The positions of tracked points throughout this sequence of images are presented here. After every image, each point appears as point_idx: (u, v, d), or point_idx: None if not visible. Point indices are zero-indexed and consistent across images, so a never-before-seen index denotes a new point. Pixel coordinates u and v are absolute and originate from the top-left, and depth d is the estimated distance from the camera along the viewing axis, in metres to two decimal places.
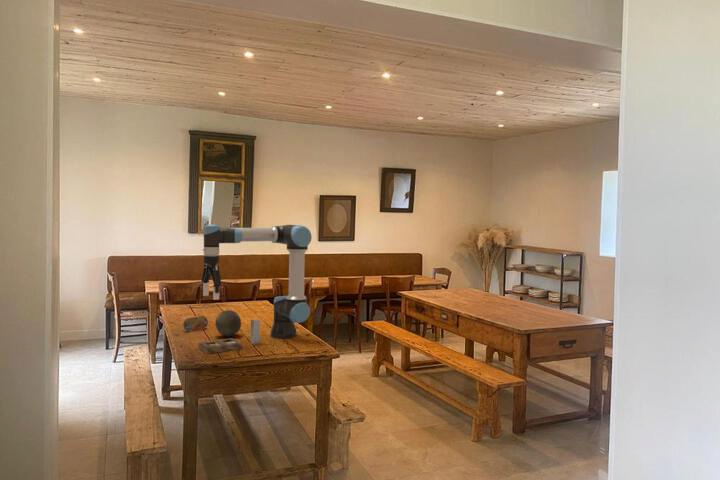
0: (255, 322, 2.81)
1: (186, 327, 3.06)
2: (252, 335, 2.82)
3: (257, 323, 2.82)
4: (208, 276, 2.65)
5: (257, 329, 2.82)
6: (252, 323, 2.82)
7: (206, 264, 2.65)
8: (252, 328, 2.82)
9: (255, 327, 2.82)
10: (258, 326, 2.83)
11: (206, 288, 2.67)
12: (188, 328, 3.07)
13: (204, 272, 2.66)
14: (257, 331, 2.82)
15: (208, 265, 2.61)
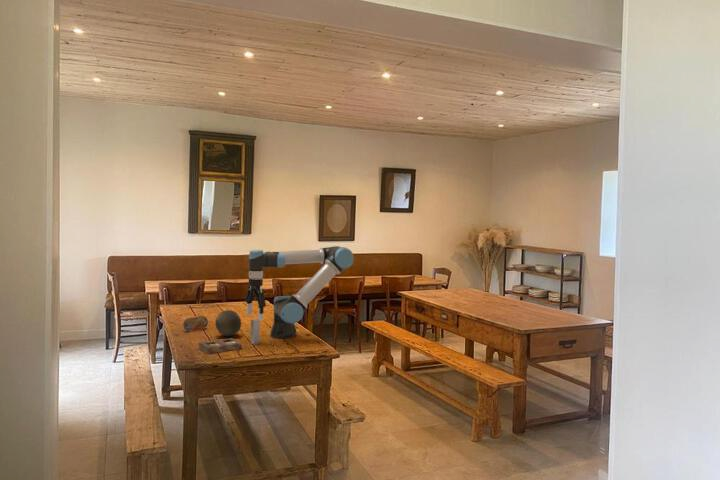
0: (255, 322, 2.81)
1: (186, 327, 3.06)
2: (252, 335, 2.82)
3: (257, 323, 2.82)
4: (252, 297, 2.86)
5: (257, 329, 2.82)
6: (252, 323, 2.82)
7: (250, 286, 2.86)
8: (252, 328, 2.82)
9: (255, 327, 2.82)
10: (258, 326, 2.83)
11: (250, 308, 2.88)
12: (188, 328, 3.07)
13: (248, 293, 2.87)
14: (257, 331, 2.82)
15: (253, 287, 2.82)
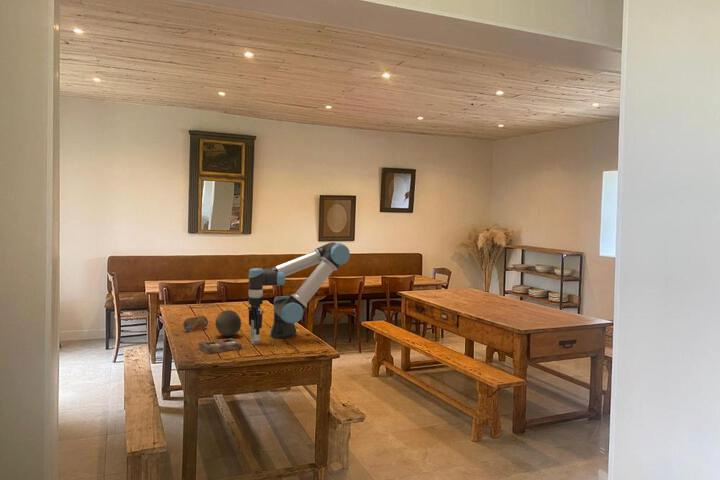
0: None
1: (186, 327, 3.06)
2: (252, 335, 2.82)
3: None
4: (254, 318, 2.85)
5: None
6: (252, 323, 2.82)
7: None
8: (252, 328, 2.82)
9: None
10: None
11: None
12: (188, 328, 3.07)
13: (250, 315, 2.86)
14: None
15: None
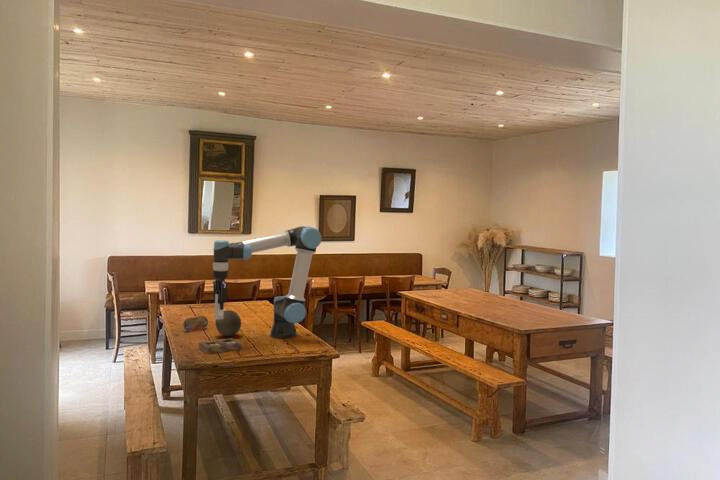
0: None
1: (186, 327, 3.06)
2: (216, 310, 2.71)
3: None
4: (219, 292, 2.73)
5: None
6: (216, 297, 2.70)
7: (215, 281, 2.75)
8: (216, 303, 2.70)
9: None
10: None
11: None
12: (188, 328, 3.07)
13: (214, 289, 2.74)
14: None
15: (217, 277, 2.72)
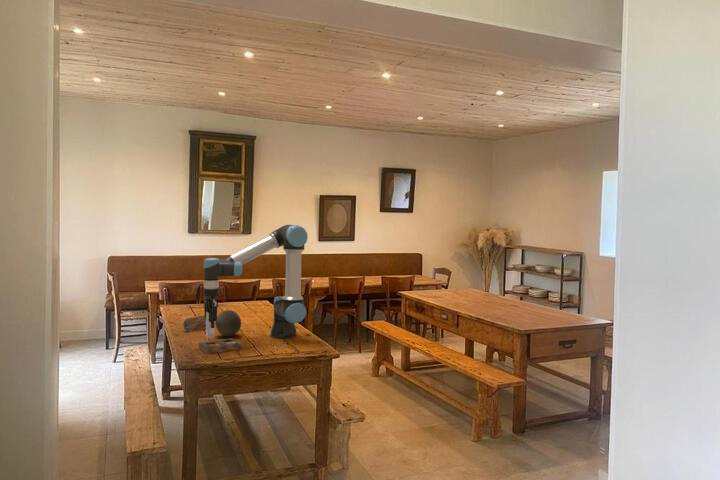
0: None
1: (186, 327, 3.06)
2: (207, 328, 2.68)
3: None
4: (209, 310, 2.71)
5: None
6: (207, 315, 2.68)
7: (206, 298, 2.73)
8: (207, 321, 2.68)
9: None
10: None
11: None
12: (188, 328, 3.07)
13: (205, 307, 2.72)
14: None
15: None
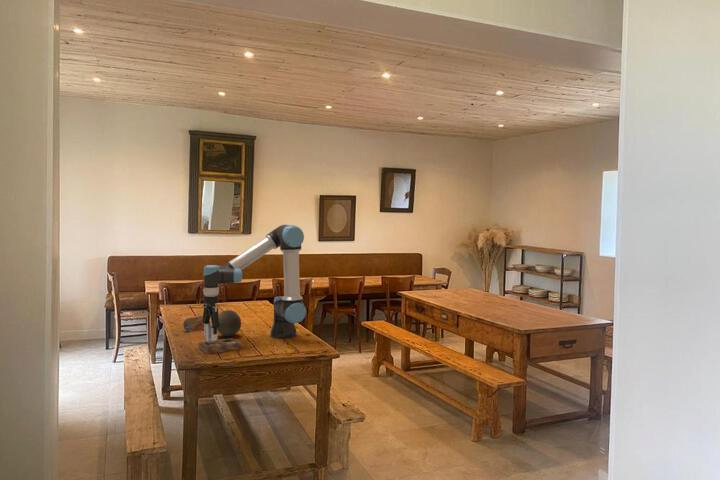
0: (210, 326, 2.68)
1: (186, 327, 3.06)
2: (207, 340, 2.69)
3: None
4: (208, 316, 2.72)
5: None
6: (207, 327, 2.69)
7: (206, 304, 2.73)
8: (207, 333, 2.69)
9: (210, 332, 2.68)
10: None
11: None
12: (188, 328, 3.07)
13: (204, 312, 2.73)
14: None
15: (208, 304, 2.69)
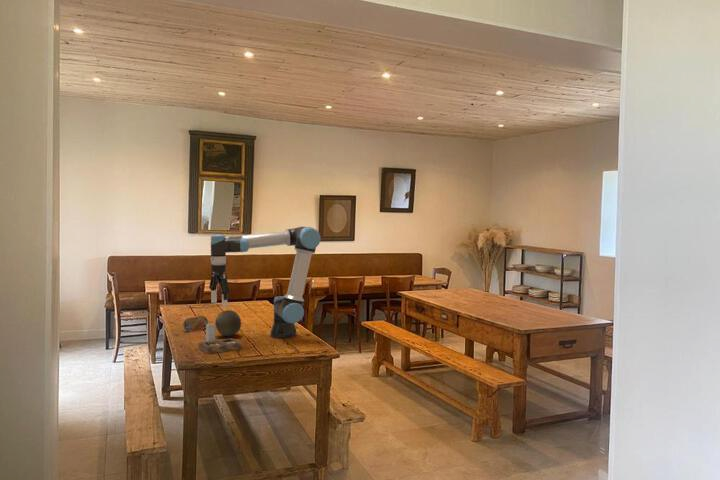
0: (210, 327, 2.68)
1: (186, 327, 3.06)
2: (207, 340, 2.69)
3: (212, 328, 2.69)
4: (216, 284, 2.77)
5: (212, 334, 2.69)
6: (207, 328, 2.69)
7: (213, 272, 2.77)
8: (207, 333, 2.69)
9: (210, 332, 2.68)
10: (213, 331, 2.69)
11: (214, 295, 2.79)
12: (188, 328, 3.07)
13: (212, 280, 2.78)
14: (212, 336, 2.69)
15: (216, 273, 2.73)
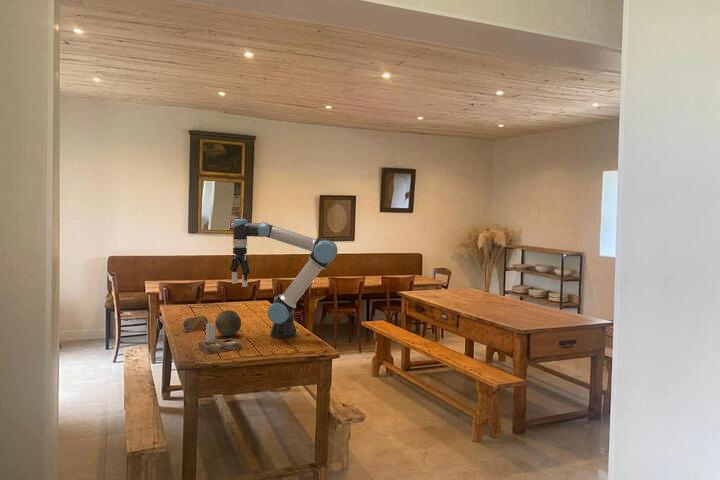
0: (210, 327, 2.68)
1: (186, 327, 3.06)
2: (207, 340, 2.69)
3: (212, 328, 2.69)
4: (236, 265, 2.93)
5: (212, 334, 2.69)
6: (207, 328, 2.69)
7: (235, 255, 2.93)
8: (207, 333, 2.69)
9: (210, 332, 2.68)
10: (213, 331, 2.69)
11: (235, 277, 2.94)
12: (188, 328, 3.07)
13: (233, 262, 2.94)
14: (212, 336, 2.69)
15: (237, 256, 2.89)
